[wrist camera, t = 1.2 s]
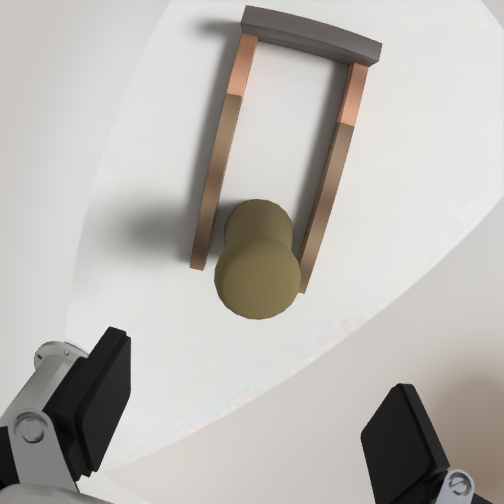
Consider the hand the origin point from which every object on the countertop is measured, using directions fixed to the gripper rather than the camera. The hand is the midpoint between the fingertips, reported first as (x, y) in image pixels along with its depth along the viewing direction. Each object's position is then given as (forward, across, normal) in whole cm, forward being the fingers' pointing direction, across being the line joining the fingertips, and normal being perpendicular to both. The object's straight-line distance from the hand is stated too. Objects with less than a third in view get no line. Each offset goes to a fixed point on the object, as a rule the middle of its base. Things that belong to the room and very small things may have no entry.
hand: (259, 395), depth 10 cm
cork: (+19, 0, 0) cm, 19 cm away
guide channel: (+19, 0, -7) cm, 20 cm away
